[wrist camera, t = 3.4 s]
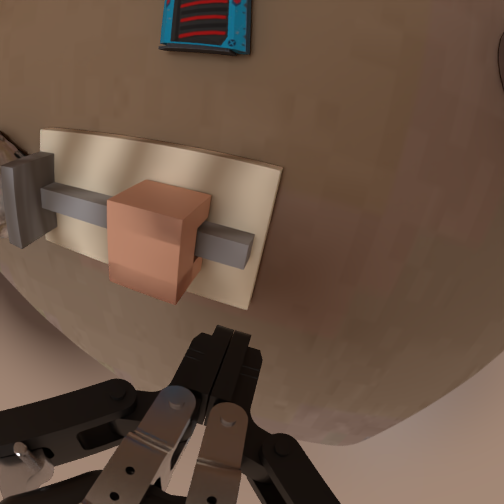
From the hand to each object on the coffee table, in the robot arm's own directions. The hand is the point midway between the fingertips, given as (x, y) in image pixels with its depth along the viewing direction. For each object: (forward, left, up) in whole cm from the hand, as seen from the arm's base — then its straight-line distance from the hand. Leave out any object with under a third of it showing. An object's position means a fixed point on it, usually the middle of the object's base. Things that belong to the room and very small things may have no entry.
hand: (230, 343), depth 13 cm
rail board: (+11, 0, -11) cm, 15 cm away
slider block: (+7, 0, -9) cm, 11 cm away
